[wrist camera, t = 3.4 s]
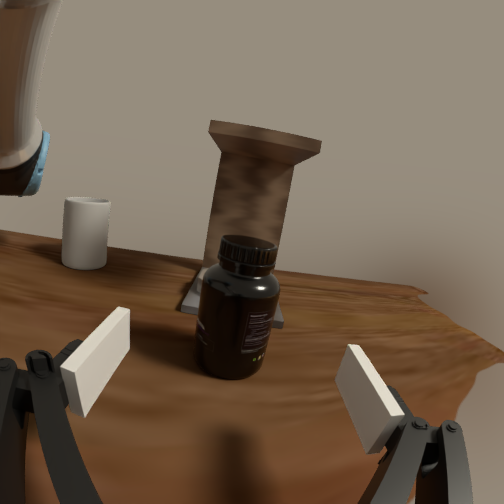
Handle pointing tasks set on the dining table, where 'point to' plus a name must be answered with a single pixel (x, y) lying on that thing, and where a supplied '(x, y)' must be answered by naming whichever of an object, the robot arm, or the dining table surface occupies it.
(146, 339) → the dining table surface
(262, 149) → the awning stand
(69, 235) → the mug
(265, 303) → the supplement bottle
